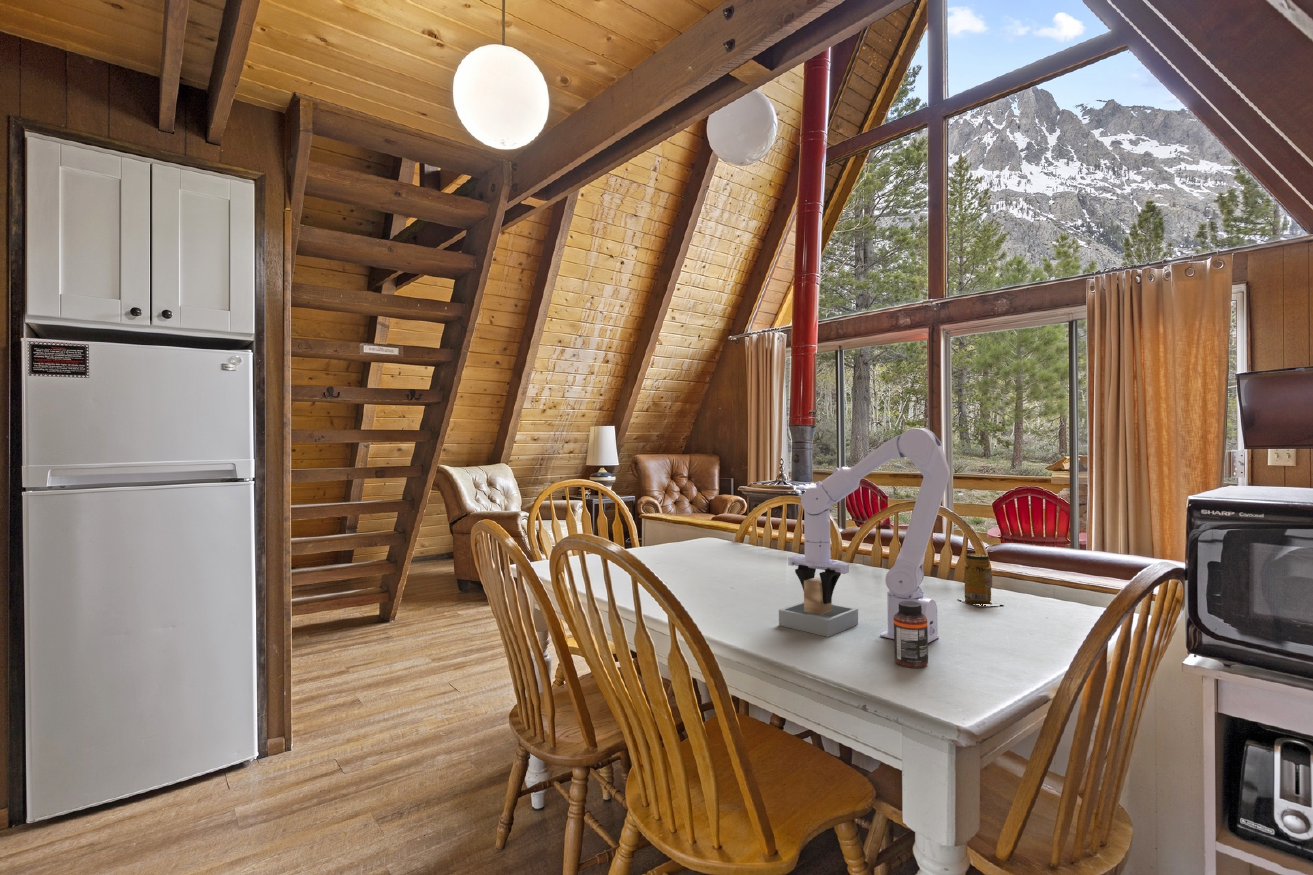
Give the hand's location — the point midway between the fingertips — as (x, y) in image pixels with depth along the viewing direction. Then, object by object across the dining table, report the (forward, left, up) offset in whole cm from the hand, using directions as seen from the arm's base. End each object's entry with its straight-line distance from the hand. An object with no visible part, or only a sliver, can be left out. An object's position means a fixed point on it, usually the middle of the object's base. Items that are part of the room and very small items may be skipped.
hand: (818, 601), depth 149 cm
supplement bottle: (-26, +10, -6) cm, 28 cm away
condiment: (-19, -44, -6) cm, 48 cm away
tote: (0, 0, -5) cm, 5 cm away
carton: (0, 0, -2) cm, 2 cm away
